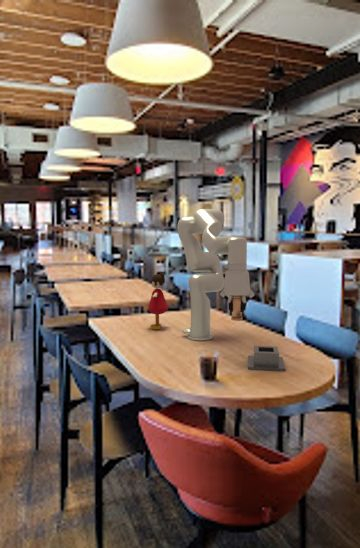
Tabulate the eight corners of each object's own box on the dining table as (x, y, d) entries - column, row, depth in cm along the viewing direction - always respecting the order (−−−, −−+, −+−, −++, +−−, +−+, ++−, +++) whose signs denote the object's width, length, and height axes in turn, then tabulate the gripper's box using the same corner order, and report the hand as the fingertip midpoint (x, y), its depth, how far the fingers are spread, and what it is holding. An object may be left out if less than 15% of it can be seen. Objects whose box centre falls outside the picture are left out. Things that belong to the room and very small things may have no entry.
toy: (150, 322, 237) (150, 269, 234) (170, 322, 237) (169, 269, 233) (145, 335, 211) (144, 275, 207) (167, 335, 211) (166, 275, 207)
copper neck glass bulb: (230, 320, 172) (231, 296, 171) (231, 318, 177) (231, 294, 176) (242, 320, 172) (242, 296, 170) (242, 318, 176) (242, 294, 175)
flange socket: (247, 369, 162) (248, 354, 161) (247, 357, 175) (248, 343, 175) (285, 371, 159) (285, 355, 159) (282, 359, 173) (282, 345, 172)
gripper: (215, 268, 169) (215, 313, 172) (258, 268, 167) (257, 314, 169) (217, 266, 177) (217, 309, 179) (258, 267, 174) (257, 310, 176)
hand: (236, 311), depth 174 cm, fingers closed on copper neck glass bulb, 4 cm apart
